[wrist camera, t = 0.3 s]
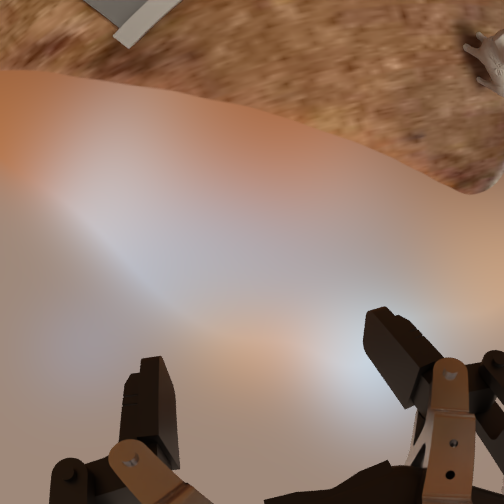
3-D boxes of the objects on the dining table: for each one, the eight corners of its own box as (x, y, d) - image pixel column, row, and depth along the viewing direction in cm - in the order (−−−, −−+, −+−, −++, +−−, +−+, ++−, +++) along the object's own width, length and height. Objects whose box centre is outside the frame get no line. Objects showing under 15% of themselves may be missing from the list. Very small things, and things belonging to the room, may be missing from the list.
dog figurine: (469, 10, 27) (525, 27, 20) (496, 73, 35) (544, 99, 27) (450, 26, 29) (507, 45, 22) (480, 89, 37) (527, 118, 29)
